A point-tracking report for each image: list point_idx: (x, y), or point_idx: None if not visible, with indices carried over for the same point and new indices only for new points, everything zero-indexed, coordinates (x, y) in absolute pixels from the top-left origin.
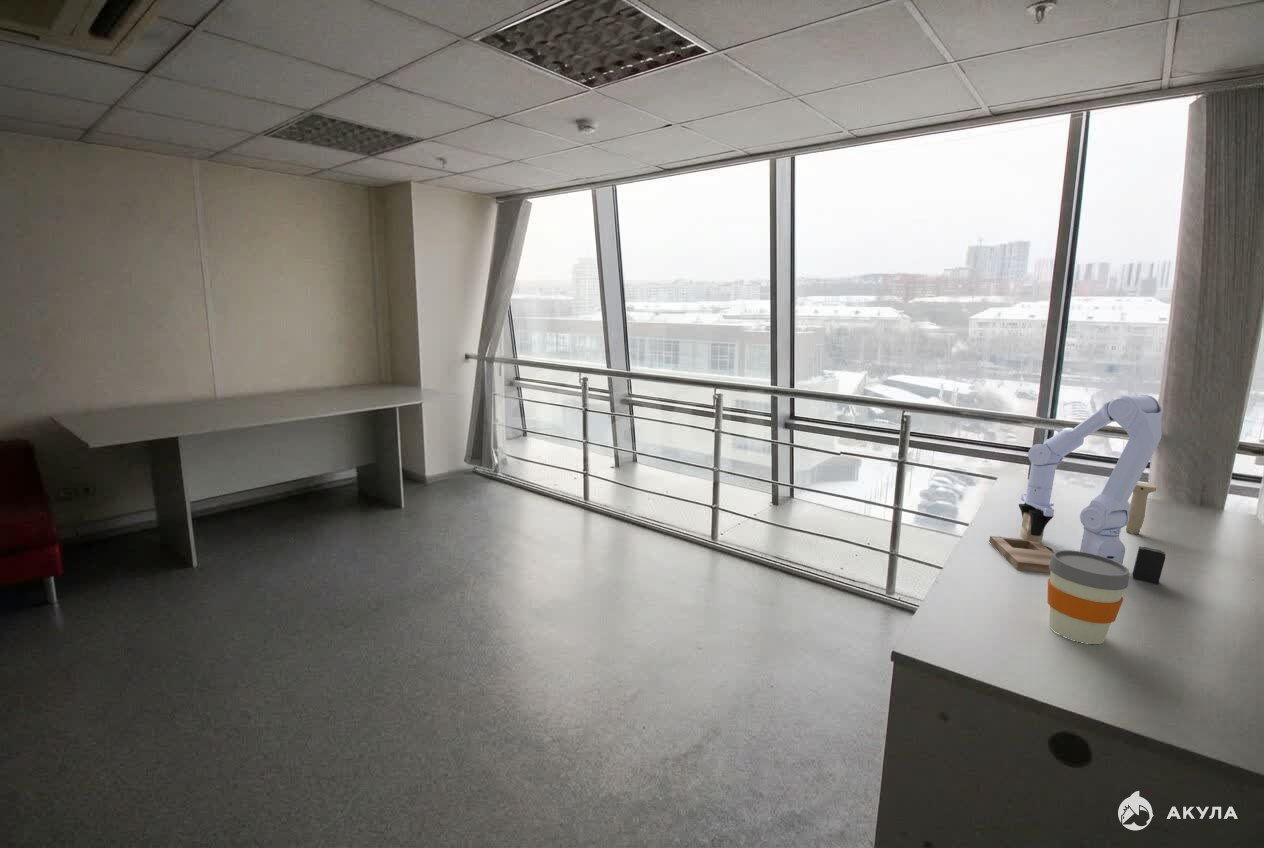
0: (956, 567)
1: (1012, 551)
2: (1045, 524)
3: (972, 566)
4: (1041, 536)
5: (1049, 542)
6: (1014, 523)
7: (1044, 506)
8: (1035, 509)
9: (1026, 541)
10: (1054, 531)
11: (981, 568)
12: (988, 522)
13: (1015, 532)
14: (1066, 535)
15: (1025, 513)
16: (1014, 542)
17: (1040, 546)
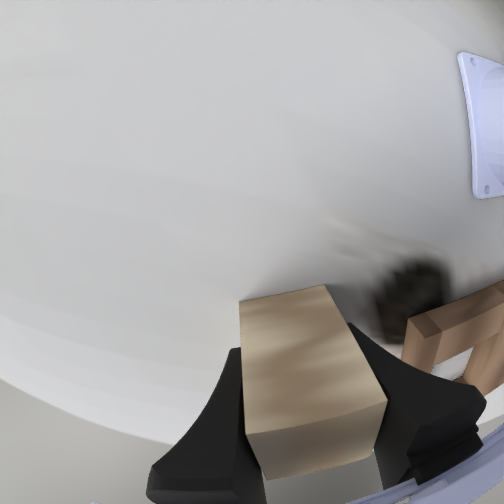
0: (487, 419)
1: (490, 385)
2: (407, 368)
3: (490, 407)
4: (335, 309)
5: (309, 242)
6: (59, 341)
7: (486, 491)
8: (246, 482)
9: (429, 370)
10: (51, 166)
11: (498, 397)
12: (132, 421)
13: (209, 371)
14: (91, 104)
15: (290, 476)
16: None
17: (477, 330)
